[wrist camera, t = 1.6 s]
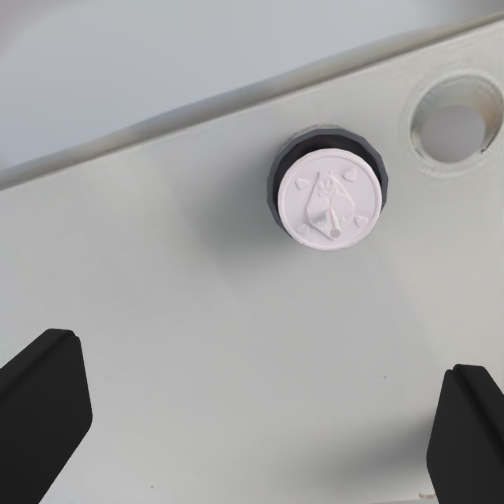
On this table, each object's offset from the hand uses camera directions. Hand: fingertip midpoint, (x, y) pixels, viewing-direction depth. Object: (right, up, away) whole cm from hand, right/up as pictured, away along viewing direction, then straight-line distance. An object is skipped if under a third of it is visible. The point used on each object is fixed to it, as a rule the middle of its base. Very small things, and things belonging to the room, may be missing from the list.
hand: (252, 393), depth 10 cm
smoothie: (+6, +10, +23) cm, 26 cm away
